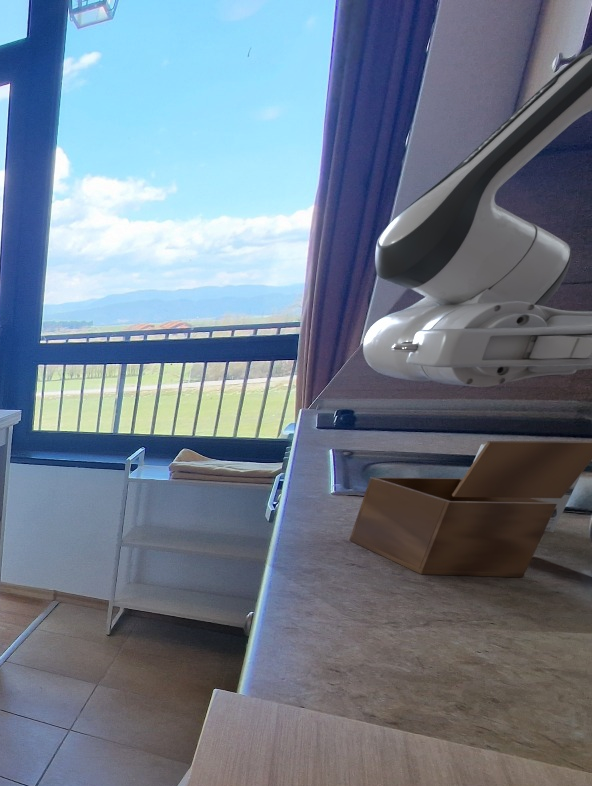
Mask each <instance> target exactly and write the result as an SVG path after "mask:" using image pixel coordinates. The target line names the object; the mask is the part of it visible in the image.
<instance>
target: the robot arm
mask: <svg viewBox="0 0 592 786" xmlns="http://www.w3.org/2000/svg"><path fill="white" fill-rule="evenodd" d="M591 111H592V45H590V46H589V47H587V48H586V49H585V50H584V51H582V52H580V54H578V55H577V56H576V57H575V58H574V59H573V60H571V61H570V62H569V63H568V64H567V65H566V66H565V67H563V68H562V69H561V70H560V71H559V72H557V74H555V75H554V76H553V77H552V78H550V80H549V81H547V83H545V84H544V85H543V86H542V87H541V88H540V89H538V90H537V91H536V92H535V93H534V94H533V95H532V96H531V97H530V98H529V99H528V100H527V101H525V102H524V103H523V104H522V105H521V106H519V108H518V109H517V110H515V112H514V113H513V114H511V115H510V116H509V118H507V119H506V120H505V121H504V122H503V123H502V124H500V126H498V127H497V128H496V129H495V130H494V131H493V132H492V133H491V134H490V135H489V136H487V138H486V139H485V140H484V141H483V142H481V143H480V144H479V145H478V146H476V148H475V149H473V151H472V152H470V154H468V155H467V156H466V157H465V158H464V159H463V160H462V161H461V162H460V163H458V165H456V166H455V167H454V168H453V169H452V170H451V171H450V172H448V174H446V175H445V176H444V177H443V178H442V179H441V180H440V181H439V182H437V183H436V184H434V185H433V186H432V187H430V188H429V189H428V190H427V191H425V192H424V193H423V194H421V195H420V196H419V197H418V198H416V200H414V201H413V202H412V203H410V204H409V205H408V206H407V207H406V208H405V209H404V210H402V211H401V212H400V213H399V214H398V215H397V216H396V217H394V219H393V220H392V221H391V222H390V223H389V224H388V225H387V226H386V227H385V228H384V229H383V231H382V232H381V234H380V235H379V237H378V239H377V241H376V245H375V254H374V255H375V256H374V264H375V272H376V275H377V277H378V278H380V279H382V280H384V281H387V282H390V283H392V284H395V285H398V286H400V287H403V288H405V289H409V290H412V291H414V292H416V293H418V294H419V295H420V296H421V295H422V296H423V298H422V299H420V300H419V301H417V302H415V303H414V304H412V305H410V306H408V307H406V308H404V309H402V310H399V311H395V312H392V313H389V314H387V315H385V316H383V317H381V318H380V319H378V320H377V321H376V322H374V323H373V324H372V326H370V328H369V329H368V330H367V332H366V334H365V336H364V339H363V343H362V353H363V357H364V360H365V361H366V363H367V364H368V366H369V367H370V368H371V369H373V370H374V371H375V372H377V373H378V374H381V375H383V376H387V377H391V378H395V379H400V380H407V381H414V382H432V381H433V382H435V383H439V384H444V385H455V386H464V387H474V388H475V387H476V388H488V387H494V386H497V385H501V384H505V383H511V382H516V381H520V380H525V379H532V378H542V377H554V376H555V377H556V376H558V377H559V376H561V375H573V374H575V373H577V372H578V371H580V370H581V371H582V370H592V311H589V310H578V309H577V310H575V309H564V308H563V309H562V308H553V307H548V306H545V305H547V303H548V302H549V301H550V299H551V298H552V297H553V296H554V295H555V293H557V291H558V290H559V288H560V287H561V285H562V283H563V281H564V279H565V277H566V275H567V273H568V270H569V268H570V266H571V265H570V264H571V260H572V247H571V245H570V244H569V243H568V242H566V241H564V240H562V239H561V238H559V237H557V235H554V234H552V233H551V232H549V231H547V230H546V229H544V228H543V227H540V226H538V225H537V224H535V223H533V222H528V221H527V220H525V219H523V218H521V217H519V216H518V215H516V214H514V213H512V212H511V211H509V210H507V209H505V208H504V207H501V206H499V205H498V204H497V203H496V198H495V197H496V195H497V192H498V190H499V189H500V188H501V187H502V186H503V185H504V184H505V183H506V182H507V181H508V180H510V179H511V178H512V177H513V176H514V175H516V173H518V172H519V171H520V170H521V169H522V168H523V167H524V166H525V165H526V164H528V162H530V161H531V160H532V159H533V158H534V157H535V156H537V155H538V154H539V153H540V152H541V151H542V150H543V149H545V148H546V147H547V146H548V145H549V144H550V143H551V142H552V141H553V140H555V139H556V138H557V137H558V136H559V135H560V134H561V133H563V132H564V131H565V130H566V129H567V128H568V127H569V126H571V125H572V124H573V123H574V122H575V121H578V119H580V118H581V117H582V116H584V115H586V114H587V113H589V112H591Z"/></svg>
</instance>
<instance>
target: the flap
mask: <svg viewBox="0 0 592 786" xmlns="http://www.w3.org/2000/svg"><path fill="white" fill-rule="evenodd" d="M485 444H486V445H485V446H484V448H483V449H482V451H481V452H480V454H479V455H478V457H477V458H476V460H475V459H474V460H475V461H474V460H473V462H474V463H473V462H472V464H471V465H470V467H469V468H468V470H467V471H466V473H465V474H464V476H463V478H462V480H461V482H460V483H459V485H458V486H457V488H456V489H455V491H454V492H453V494H452V496H453V497H497V498H562V497H563V496H564V494H565V493H566V492H567V491H568V489H569V488H570V487H571V486H572V484H573V483H574V482H575V481H576V479H577V478H578V477H579V476H580V474H581V475H582V473H583V472H584V470H585V469H586V468H587V467H588V465H589V464H590V463H591V462H592V441H591V440H590V441H589V440H584V441H583V440H581V441H577V440H575V441H574V440H572V441H571V440H569V441H567V440H564V441H563V440H560V441H559V440H558V441H555V440H554V441H553V440H552V441H551V440H549V441H545V440H542V441H541V440H540V441H539V440H534V441H532V440H530V441H529V440H527V441H526V440H525V441H524V440H523V441H522V440H521V441H520V440H519V441H518V440H514V441H513V440H510V441H509V440H508V441H507V440H506V441H504V440H500V441H499V440H498V441H497V440H496V441H495V440H493V441H490V440H489V441H488V440H487V441H486V443H485ZM580 477H581V476H580Z"/></svg>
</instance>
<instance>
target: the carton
mask: <svg viewBox="0 0 592 786" xmlns="http://www.w3.org/2000/svg"><path fill="white" fill-rule="evenodd" d="M462 479H463V478H461V477H394V476H393V477H389V476H388V477H385V476H383V477H379V476H377V477H375V476H372V477H371V476H370V478H369V481H368V484H367V486H366V489H365V493H364V495H363V498H362V501H361V504H360V506H359V507H360V508H359V510H358V513H357V517H356V518H355V521H354V524H353V527H352V530H351V534H350V537H349V540H348V541H349V542H352V543H354V544H356V545H358V546H360V547H363V548H365V549H367V550H368V551H371V552H373V553H376V554H377V555H380V556H382V557H384V558H387V559H388V560H390V561H392V562H395V563H397V564H399V565H401V566H403V567H405V568H407V569H409V570H411V571H413V572H415V573H418V574H419V575H432V576H433V575H436V576H461V577H462V576H464V577H465V576H466V577H496V578H497V577H501V578H524V576H525V574H526V572H527V569H528V567H529V566H530V563H531V561H532V559H533V557H534V554H535V553H536V550H537V548H538V546H539V544H540V542H541V540H542V537H543V536H544V533H545V532H546V531H545V529H546V527H547V525H548V522H549V520H550V518H551V516H552V514H553V512H554V510H555V507H556V505H557V504H556V503H552V502H549V501H545V500H541V499H537V498H497V497H453V496H452V494H453V492H454V491H455V489H456V488H457V486H458V485H459V483H460V482H461V480H462Z"/></svg>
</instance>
